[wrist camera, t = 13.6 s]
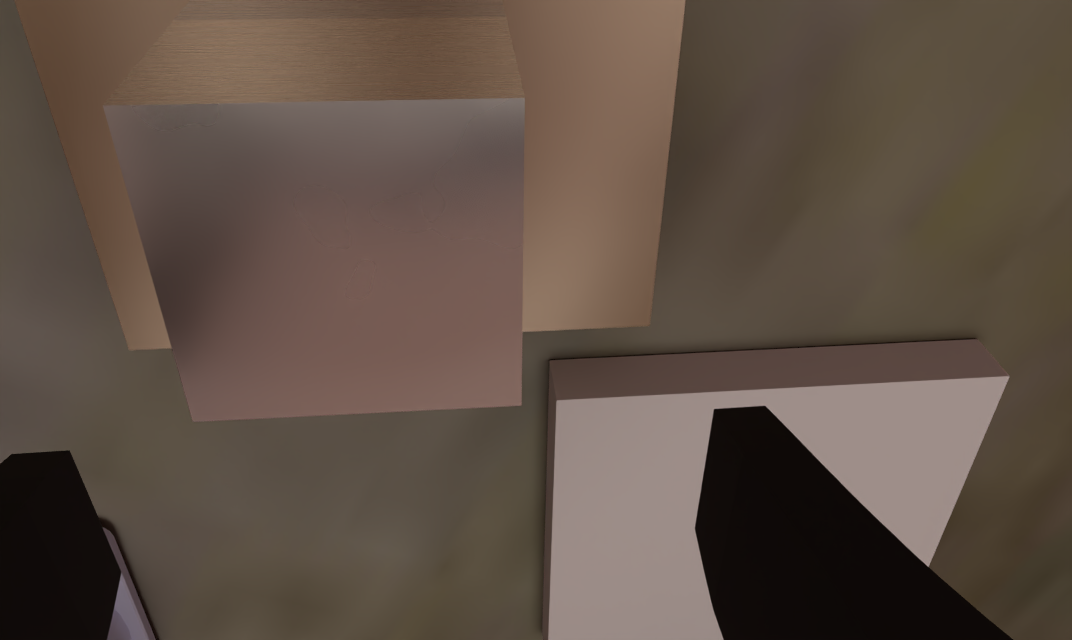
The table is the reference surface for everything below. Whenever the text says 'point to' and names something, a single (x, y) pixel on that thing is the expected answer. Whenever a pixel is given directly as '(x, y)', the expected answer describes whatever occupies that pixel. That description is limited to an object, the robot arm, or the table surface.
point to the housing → (331, 203)
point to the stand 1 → (549, 147)
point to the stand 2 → (680, 453)
